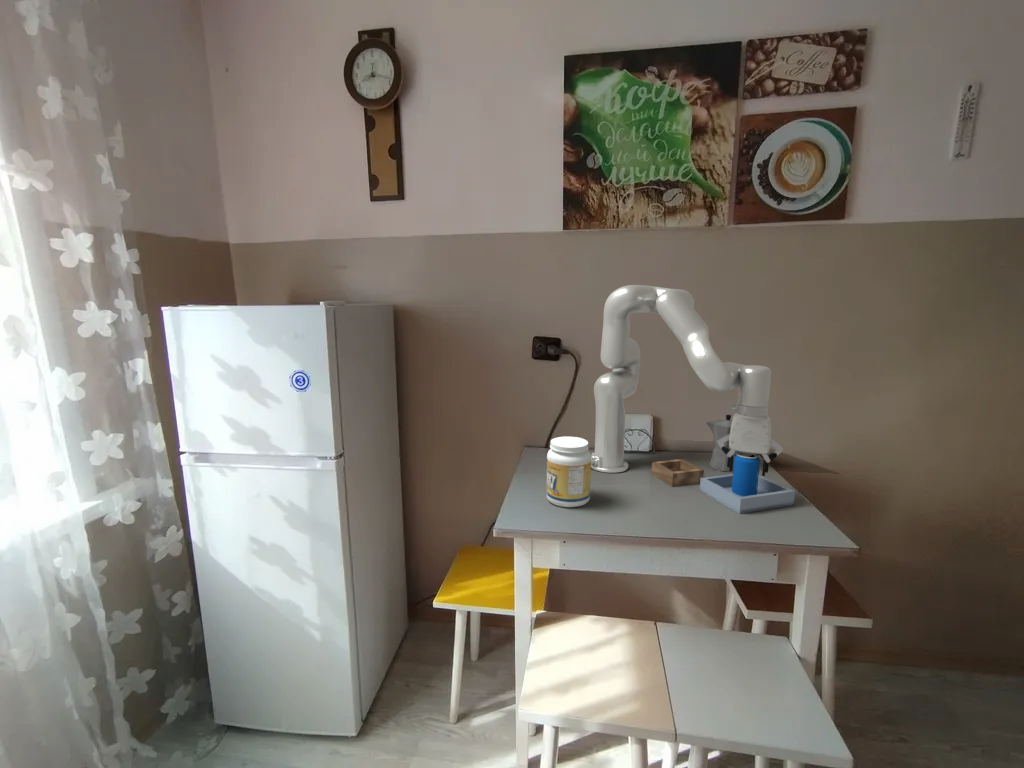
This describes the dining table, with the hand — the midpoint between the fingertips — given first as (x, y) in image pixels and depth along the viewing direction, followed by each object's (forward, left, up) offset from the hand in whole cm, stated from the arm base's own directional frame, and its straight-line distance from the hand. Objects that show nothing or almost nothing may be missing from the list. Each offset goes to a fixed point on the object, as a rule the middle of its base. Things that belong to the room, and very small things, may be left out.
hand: (747, 471), depth 141 cm
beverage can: (0, 0, -7) cm, 7 cm away
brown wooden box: (-9, +19, -8) cm, 22 cm away
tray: (0, 0, -8) cm, 8 cm away
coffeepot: (+13, +22, -8) cm, 27 cm away
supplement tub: (-48, +14, -8) cm, 51 cm away
